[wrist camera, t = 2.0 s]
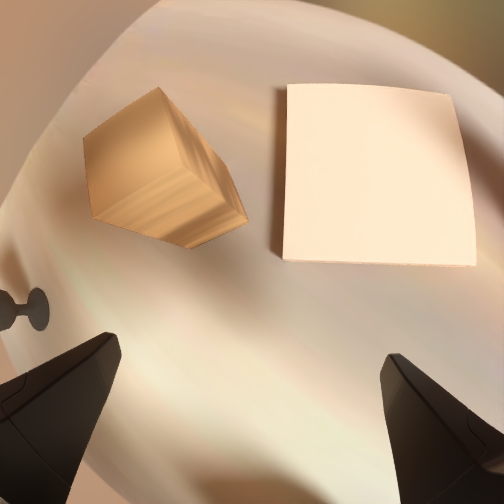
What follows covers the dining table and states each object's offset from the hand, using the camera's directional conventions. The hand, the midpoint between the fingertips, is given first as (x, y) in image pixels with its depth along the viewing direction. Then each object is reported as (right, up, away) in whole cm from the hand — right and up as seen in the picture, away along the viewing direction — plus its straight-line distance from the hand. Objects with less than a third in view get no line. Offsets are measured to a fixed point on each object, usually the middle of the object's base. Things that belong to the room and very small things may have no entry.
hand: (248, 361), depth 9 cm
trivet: (+10, +9, +11) cm, 18 cm away
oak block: (-3, +7, +14) cm, 16 cm away
